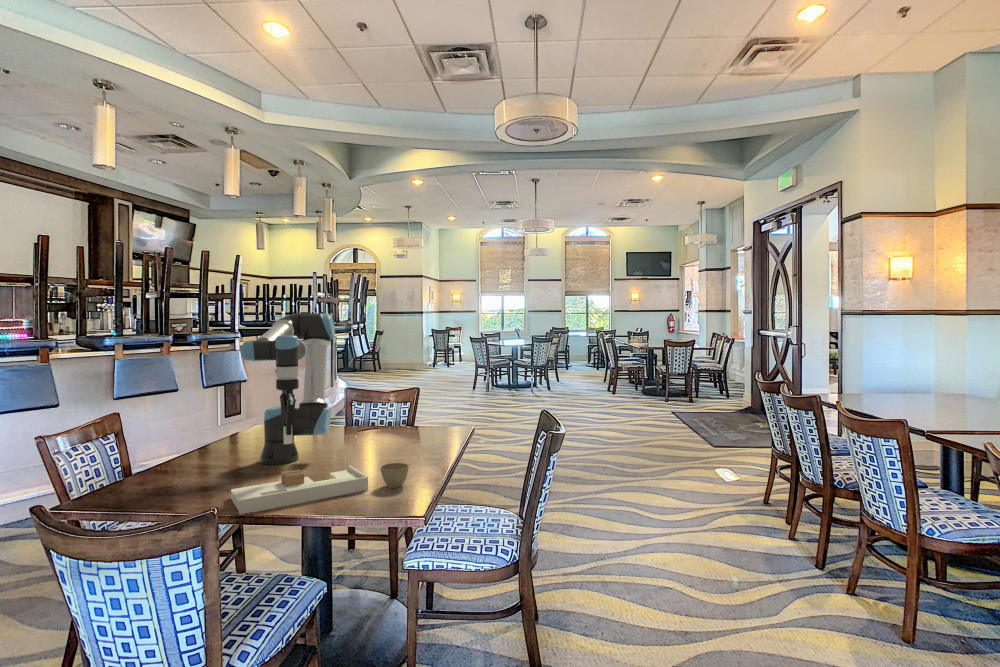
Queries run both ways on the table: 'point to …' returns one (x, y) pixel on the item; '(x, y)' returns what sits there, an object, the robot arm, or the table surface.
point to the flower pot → (394, 474)
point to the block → (292, 477)
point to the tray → (297, 491)
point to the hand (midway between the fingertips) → (288, 443)
